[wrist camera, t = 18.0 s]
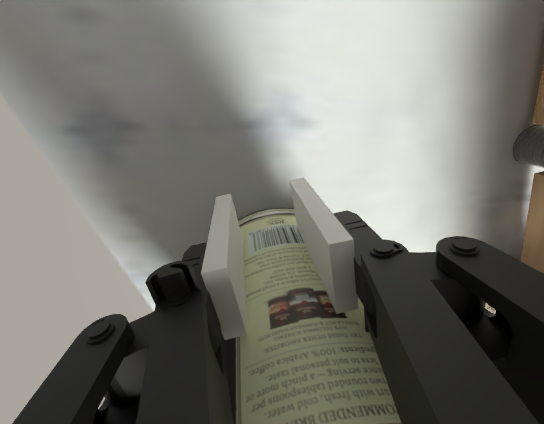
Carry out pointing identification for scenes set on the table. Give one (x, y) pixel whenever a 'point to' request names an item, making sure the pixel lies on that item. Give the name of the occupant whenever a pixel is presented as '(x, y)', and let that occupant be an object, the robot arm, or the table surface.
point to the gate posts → (533, 134)
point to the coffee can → (299, 340)
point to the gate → (535, 226)
